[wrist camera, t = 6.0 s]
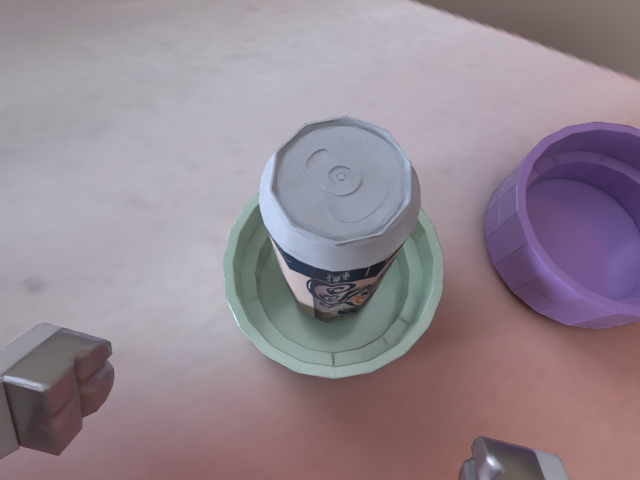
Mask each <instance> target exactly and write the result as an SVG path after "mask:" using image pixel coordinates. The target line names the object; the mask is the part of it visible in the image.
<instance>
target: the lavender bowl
mask: <svg viewBox="0 0 640 480" xmlns="http://www.w3.org/2000/svg"><path fill="white" fill-rule="evenodd" d="M485 239H486V240H485V241H486V244H487V247H488V250H489V253H490V256H491V259H492V262H493V265H494V266H495V268H496V270H497V271H498V273H499V274H500V276H501V277H502V278H503V280H504V281H505V283H506V284H507V286H508V287H509V288H510V290H511V291H512V292H513V293H514V294H515V295H516V296H518V297H519V298H520V299H521V300H522V301H524V302H525V303H526V304H527V305H529V306H530V307H531V308H532V309H533V310H535V311H537V312H538V313H540V314H543V315H545V316H547V317H549V318H551V319H554V320H556V321H558V322H560V323H562V324H566V325H569V326H576V327H583V328H590V329H603V328H608V327H614V326H619V325H625V324H630V323H635V322H640V130H639V129H636V128H634V127H631V126H627V125H620V124H611V123H603V122H592V123H586V124H579V125H572V126H568V127H565V128H563V129H561V130H559V131H557V132H555V133H553V134H551V135H549V136H547V137H545V138H543V139H542V140H541V141H540V142H539V143H538V144H537V145H536V146H535V148H534V149H533V150H532V151H531V152H530V153H529V154H528V155H527V156H526V157H525V158H524V159H523V161H522V162H521V163H520V164H519V165H518V166H517V167H516V168H515V169H514V170H513V172H512V173H511V174H510V175H509V176H508V177H507V178H506V179H505V180H504V181H503V183H502V184H501V185H500V186H499V187H498V188H497V189H496V190H495V191H494V193H493V196H492V198H491V201H490V203H489V206H488V209H487V211H486V215H485Z"/></svg>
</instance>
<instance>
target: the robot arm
mask: <svg viewBox="0 0 640 480" xmlns="http://www.w3.org/2000/svg"><path fill="white" fill-rule="evenodd" d="M111 355H112V347H111V342H109V341H107V340H105V339H102V338H98V337H95V336H91V335H88V334H84V333H81V332H77V331H74V330H70V329H67V328H62V327H59V326H55V325H52V324H48V323H43V324H39V325H36V326H35V327H33V328H32V329H31V330H29V331H28V332H26V333H25V334H24V335H22V336H21V337H20V338H18V339H17V340H16V341H14V342H13V343H11V344H10V345H9V346H7V347H6V348H5V349H3V350H2V351H0V459H2V458H4V457H5V456H7V455H9V454H11V453H12V452H14V451H16V450H18V449H19V446H22V447H26V448H30V449H34V450H38V451H42V452H46V453H50V454H54V455H57V456H59V455H60V454H61V453H62V451H63V450H64V449H65V448H66V447H67V446H68V444H69V443H70V442H71V441H72V440H73V439H74V437H75V436H76V435H77V434H78V433H79V432H80V430H81V429H82V426H83V418H84V417H86V416H88V415H90V414H92V413H94V412H96V411H97V410H98V409H99V408H100V407H101V406H102V404H103V403H104V402H105V401H106V399H107V397H108V395H109V393H110V391H111V389H112V386H113V381H114V368H113V367H112V366H111V364H110V363H109V362H108V360H107V359H108V358H109V357H110V356H111ZM471 450H472V455H473V457H472V458H470V459H468V460H466V461H464V463H463V465H462V467H461V469H460V472H459V477H458V480H570V479H569V476H568V474H567V472H566V469H565V467H564V465H563V462H562V460H561V459H560V458H559V457H558V456H557V455H555V454H551V453H547V452H543V451H539V450H535V449H531V448H527V447H524V446H520V445H516V444H512V443H508V442H504V441H500V440H496V439H491V438H487V437H483V436H479V437H477V438H476V439H475V441H474V442H473V444H472V446H471Z"/></svg>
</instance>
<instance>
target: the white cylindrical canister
mask: <svg viewBox="0 0 640 480" xmlns="http://www.w3.org/2000/svg"><path fill="white" fill-rule="evenodd" d="M259 205H260V211H261V215H262V218H263V221H264V224H265V226H266V228H267V231H268V233H269V236H270V239H271V242H272V244H273V247H274V250H275V253H276V256H277V258H278V261H279V264H280V267H281V269H282V272H283V275H284V278H285V281H286V283H287V286H288V289H289V292H290V295H291V297H292V299H293V301H294V303H295V304H296V306H297V307H298V308H299V309H300V311H301V312H303V313H304V314H305V315H307V316H308V317H310V318H312V319H314V320H316V321H320V322H324V323H339V322H345V321H347V320H350V319H352V318H354V317H356V316H357V315H358V314H359V313H360V312H362V311H363V310H364V309H365V307H366V306H367V304H368V303H369V302H370V300H371V298H372V297H373V295H374V293H375V291H376V290H377V288H378V286H379V285H380V283H381V281H382V280H383V278H384V276H385V275H386V273H387V271H388V270H389V268H390V266H391V265H392V263H393V261H394V260H395V258H396V256H397V255H398V253H399V251H400V250H401V248H402V246H403V245H404V243H405V241H406V240H407V238H408V237H409V235H410V234H411V232H412V231H413V229H414V227H415V225H416V222H417V218H418V215H419V212H420V206H421V201H420V185H419V181H418V177H417V174H416V172H415V170H414V168H413V166H412V165H411V161H410V160H409V158H408V157H407V156H406V155H405V153H404V152H403V151H402V149H401V148H400V147H399V145H398V144H397V143H396V142H395V140H394V139H393V138H392V136H391V135H390V134H389V132H388V131H387V130H386V129H383V128H380V127H378V126H375V125H372V124H369V123H366V122H363V121H361V120H358V119H355V118H352V117H349V116H347V115H346V116H341V117H336V118H331V119H325V120H320V121H315V122H309V123H305V124H304V125H303V126H302V127H301V128H300V129H299V130H297V131H296V132H295V133H294V134H293V135H292V136H291V137H289V138H288V140H287V141H286V142H285V143H283V144H282V145H281V146H280V147H279V148H278V149H277V150H276V152H275V153H274V155H273V156H272V157H271V158H270V160H269V161H268V163H267V165H266V167H265V170H264V172H263V174H262V178H261V183H260V191H259Z"/></svg>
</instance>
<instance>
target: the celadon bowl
mask: <svg viewBox="0 0 640 480" xmlns="http://www.w3.org/2000/svg"><path fill="white" fill-rule="evenodd" d="M222 262H223V263H222V266H223V277H224V289H225V296H226V299H227V302H228V304H229V306H230V308H231V311H232V313H233V315H234V317H235V320H236V322H237V324H238V326H239V328H240V330H241V331H242V332H243V333H244V334H245V335H246V336H247V337H248V338H249V339H250V340H251V341H252V343H253V344H254V345H255V346H256V347H257V348H258V349H259V350H260V351H261V352H262V353H263V354H264V355H265V356H267V357H269V358H270V359H272V360H274V361H276V362H278V363H280V364H282V365H284V366H286V367H287V368H289V369H291V370H293V371H295V372H297V373H300V374H303V375H308V376H315V377H321V378H327V379H339V378H344V377H350V376H355V375H361V374H366V373H372V372H375V371H377V370H378V369H380V368H382V367H384V366H385V365H387V364H389V363H391V362H392V361H394V360H396V359H398V358H400V357H401V356H403V355H405V353H407V352H408V351H409V350H410V349H411V348H412V346H413V345H414V344H415V343H416V342H417V341H418V340H419V338H420V337H421V336H422V335H423V334H424V333H425V331H426V330H427V329H428V328H429V326H430V325H431V322H432V320H433V317H434V315H435V312H436V310H437V307H438V305H439V302H440V300H441V297H442V293H443V276H444V258H443V254H442V251H441V247H440V244H439V240H438V237H437V233H436V230H435V228H434V226H433V224H432V223H431V221H430V220H429V218H428V217H427V215H426V214H425V212H424V211H423V209H422V208H421V206H420V212H419V215H418V218H417V222H416V225H415V227H414V229H413V231H412V232H411V234H410V235H409V237H408V238H407V240H406V241H405V243H404V245H403V246H402V248H401V250H400V251H399V253H398V255H397V256H396V258H395V260H394V261H393V263H392V265H391V266H390V268H389V270H388V271H387V273H386V275H385V276H384V278H383V280H382V281H381V283H380V285H379V286H378V288H377V290H376V291H375V293H374V295H373V297H372V298H371V300H370V302H369V303H368V304H367V306H366V307H365V309H364V310H363V311H362V312H360V313H359V314H358V315H357V316H356V317H354V318H352V319H350V320H347V321H345V322H339V323H324V322H320V321H316V320H314V319H312V318H310V317H308V316H307V315H305V314H304V313H303V312H301V311H300V309H299V308H298V307H297V306H296V304H295V303H294V301H293V299H292V297H291V295H290V292H289V289H288V286H287V283H286V281H285V278H284V275H283V272H282V269H281V267H280V264H279V261H278V258H277V256H276V253H275V250H274V247H273V244H272V242H271V239H270V236H269V233H268V231H267V228H266V226H265V224H264V221H263V218H262V215H261V211H260V205H259V193H257V194H256V195H255V196H254V197H253V198H252V199H251V200H249V201H248V202H247V204H246V205H245V207H244V208H243V210H242V212H241V213H240V215H239V217H238V218H237V220H236V221H235V223H234V225H233V226H232V228H231V231H230V232H229V236H228V240H227V244H226V249H225V253H224V257H223V261H222Z"/></svg>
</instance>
